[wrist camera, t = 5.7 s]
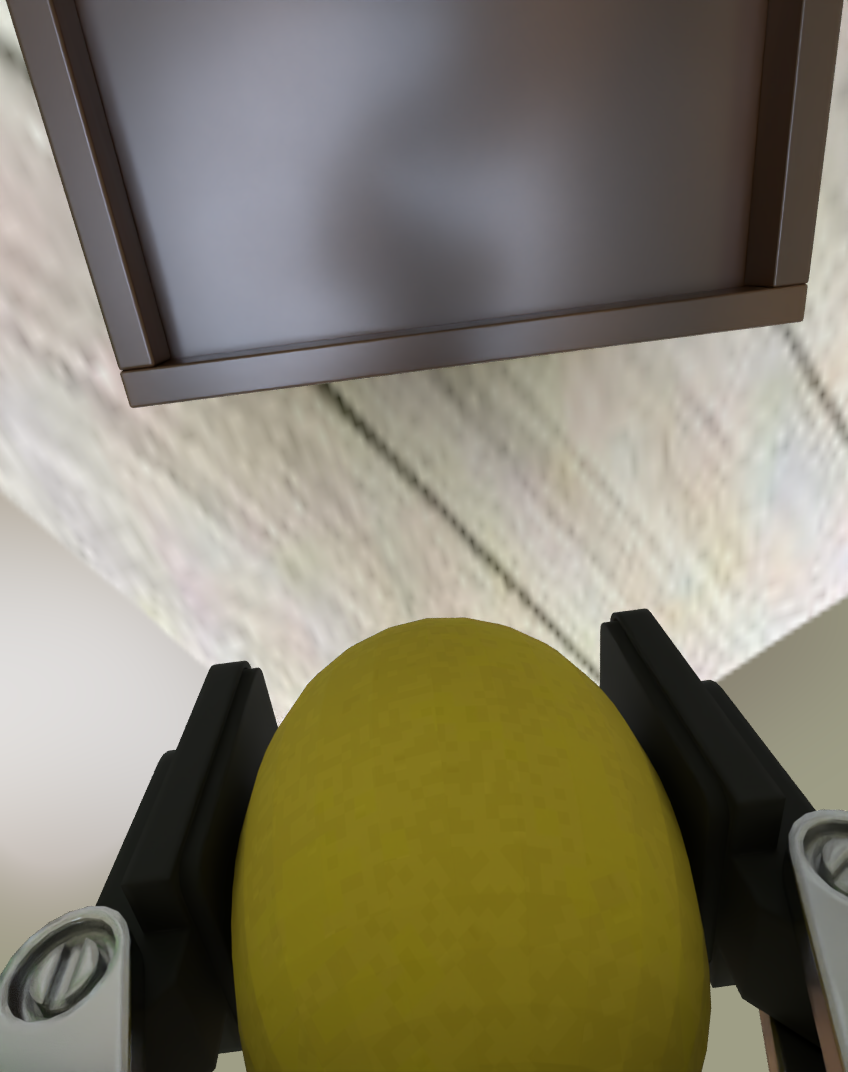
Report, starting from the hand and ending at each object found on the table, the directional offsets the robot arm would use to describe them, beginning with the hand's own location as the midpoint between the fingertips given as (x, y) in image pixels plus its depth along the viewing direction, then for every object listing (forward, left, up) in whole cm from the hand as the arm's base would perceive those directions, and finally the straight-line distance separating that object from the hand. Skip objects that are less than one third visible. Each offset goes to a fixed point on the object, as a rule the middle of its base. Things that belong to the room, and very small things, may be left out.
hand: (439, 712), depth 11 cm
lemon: (0, 0, -2) cm, 2 cm away
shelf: (-2, -10, -16) cm, 19 cm away
